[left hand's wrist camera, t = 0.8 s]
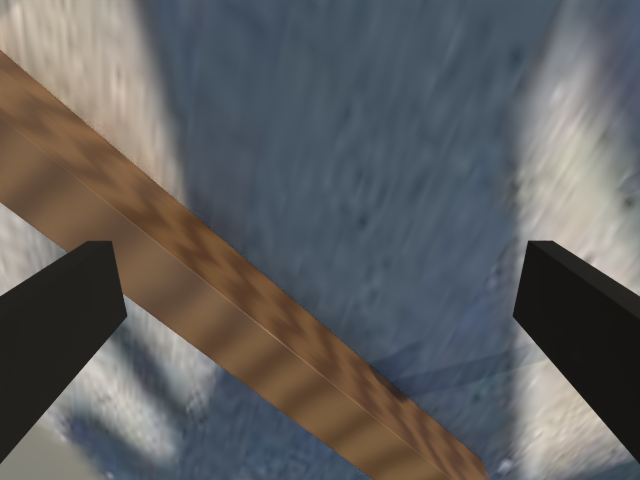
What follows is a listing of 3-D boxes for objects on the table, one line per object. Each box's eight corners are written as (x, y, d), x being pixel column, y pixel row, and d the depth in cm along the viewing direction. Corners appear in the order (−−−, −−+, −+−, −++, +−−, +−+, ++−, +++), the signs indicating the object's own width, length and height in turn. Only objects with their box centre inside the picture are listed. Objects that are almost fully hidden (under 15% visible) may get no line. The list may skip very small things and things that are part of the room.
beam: (-155, 2, 31) (-308, -27, 23) (-126, -58, 30) (-279, -109, 22) (446, 482, 50) (468, 551, 43) (481, 459, 49) (510, 527, 41)
